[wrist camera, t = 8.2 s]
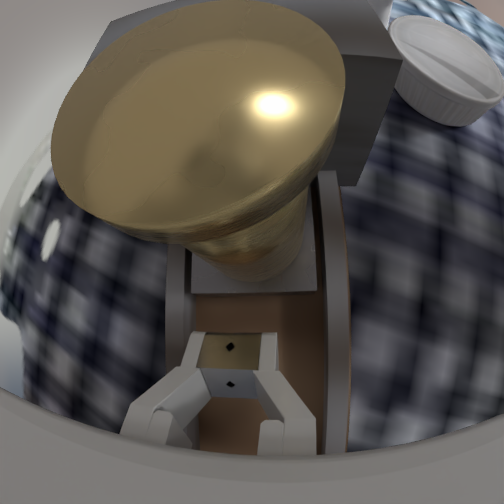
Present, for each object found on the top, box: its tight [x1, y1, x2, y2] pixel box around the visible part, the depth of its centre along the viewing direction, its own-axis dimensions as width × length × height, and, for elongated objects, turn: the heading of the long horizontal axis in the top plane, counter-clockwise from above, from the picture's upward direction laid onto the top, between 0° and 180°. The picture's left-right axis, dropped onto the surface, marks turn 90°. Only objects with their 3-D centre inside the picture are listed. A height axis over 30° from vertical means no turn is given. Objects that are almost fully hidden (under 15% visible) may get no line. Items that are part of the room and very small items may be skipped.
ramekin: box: [388, 15, 504, 126], centre depth 17 cm, size 11×11×5 cm
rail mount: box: [83, 0, 403, 455], centre depth 12 cm, size 26×12×12 cm, turn 1°
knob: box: [51, 0, 345, 297], centre depth 10 cm, size 6×6×12 cm
